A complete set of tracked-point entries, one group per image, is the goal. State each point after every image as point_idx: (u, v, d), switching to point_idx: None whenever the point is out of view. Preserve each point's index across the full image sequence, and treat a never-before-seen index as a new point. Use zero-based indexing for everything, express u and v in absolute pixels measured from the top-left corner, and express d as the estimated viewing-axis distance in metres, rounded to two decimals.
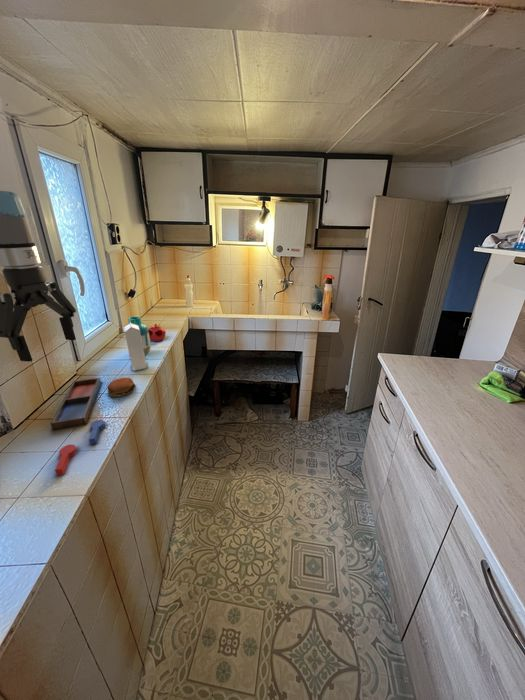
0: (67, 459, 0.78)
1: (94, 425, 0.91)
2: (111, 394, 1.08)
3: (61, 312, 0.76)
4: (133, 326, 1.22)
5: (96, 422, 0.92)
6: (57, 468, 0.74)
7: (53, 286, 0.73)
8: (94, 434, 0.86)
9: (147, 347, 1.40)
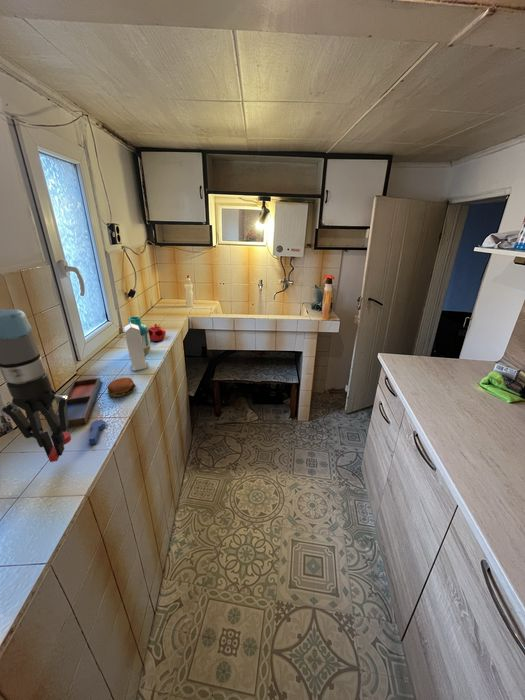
0: None
1: (94, 425, 0.91)
2: (111, 394, 1.08)
3: None
4: (133, 326, 1.22)
5: (96, 422, 0.92)
6: (50, 454, 0.72)
7: (60, 401, 0.69)
8: (94, 434, 0.86)
9: (147, 347, 1.40)
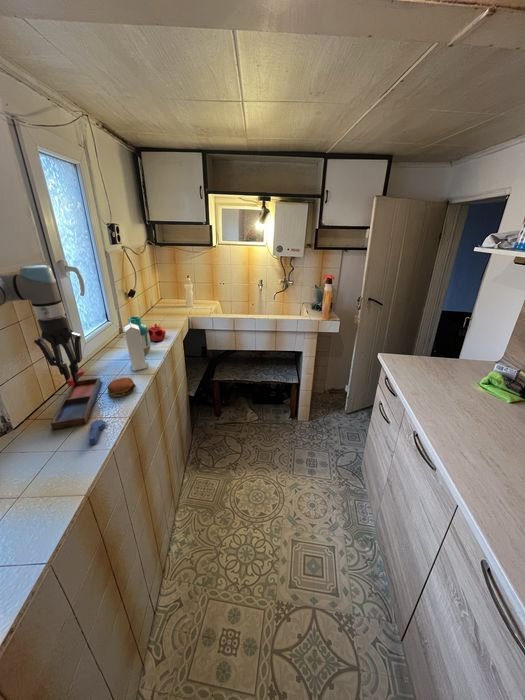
0: None
1: (94, 425, 0.91)
2: (111, 394, 1.08)
3: None
4: (133, 326, 1.22)
5: (96, 422, 0.92)
6: (68, 380, 0.96)
7: (76, 337, 0.92)
8: (94, 434, 0.86)
9: (147, 347, 1.40)
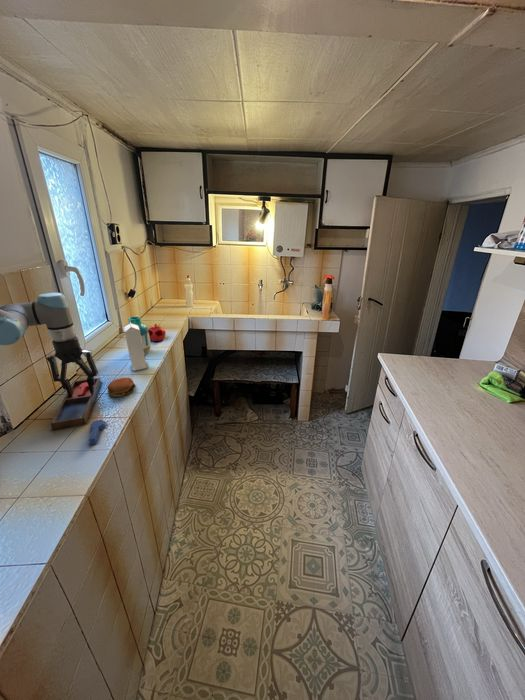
0: (85, 390, 1.09)
1: (94, 425, 0.91)
2: (111, 394, 1.08)
3: None
4: (133, 326, 1.22)
5: (96, 422, 0.92)
6: (79, 393, 1.05)
7: (86, 354, 1.01)
8: (94, 434, 0.86)
9: (147, 347, 1.40)
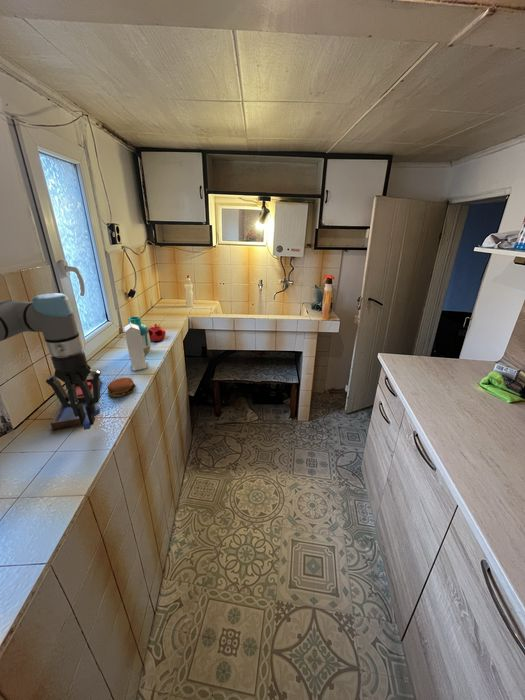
0: None
1: None
2: (111, 394, 1.08)
3: None
4: (133, 326, 1.22)
5: None
6: (79, 393, 1.05)
7: (94, 375, 0.79)
8: (88, 420, 0.84)
9: (147, 347, 1.40)
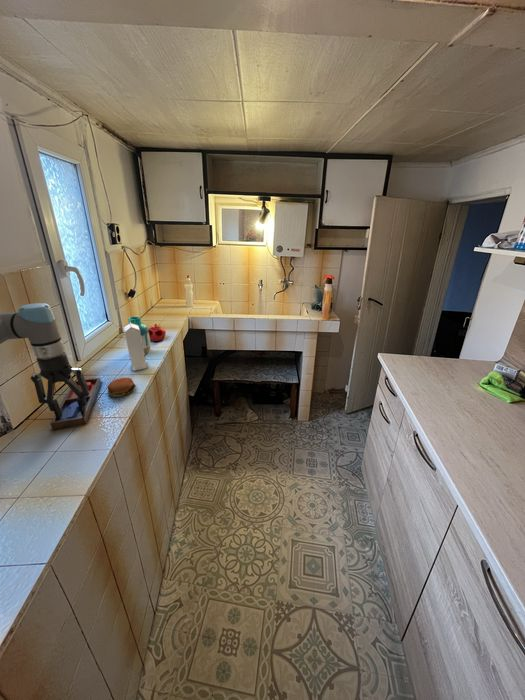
0: None
1: (73, 406, 0.99)
2: (111, 394, 1.08)
3: None
4: (133, 326, 1.22)
5: (75, 403, 1.00)
6: None
7: (76, 372, 0.89)
8: (72, 413, 0.94)
9: (147, 347, 1.40)
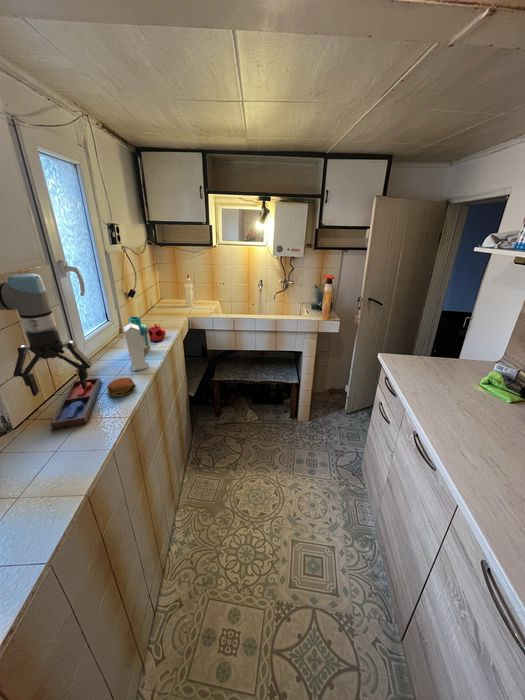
0: (85, 390, 1.09)
1: (73, 406, 0.99)
2: (111, 394, 1.08)
3: None
4: (133, 326, 1.22)
5: (75, 403, 1.00)
6: (79, 393, 1.05)
7: None
8: (72, 413, 0.94)
9: (147, 347, 1.40)
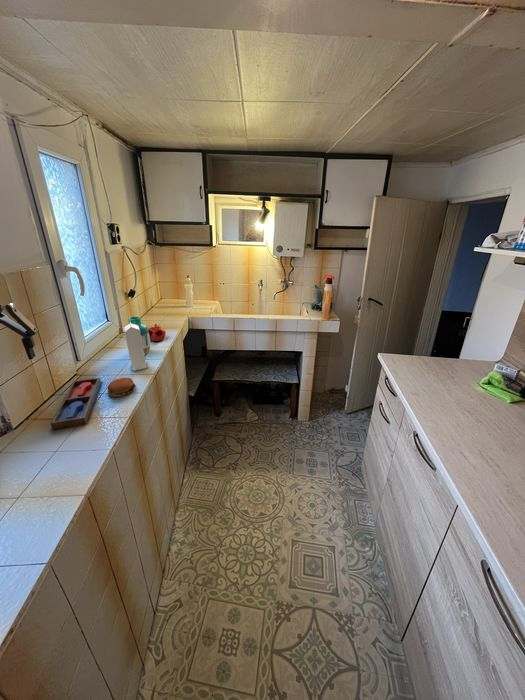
0: (85, 390, 1.09)
1: (73, 406, 0.99)
2: (111, 394, 1.08)
3: None
4: (133, 326, 1.22)
5: (75, 403, 1.00)
6: (79, 393, 1.05)
7: None
8: (72, 413, 0.94)
9: (147, 347, 1.40)
